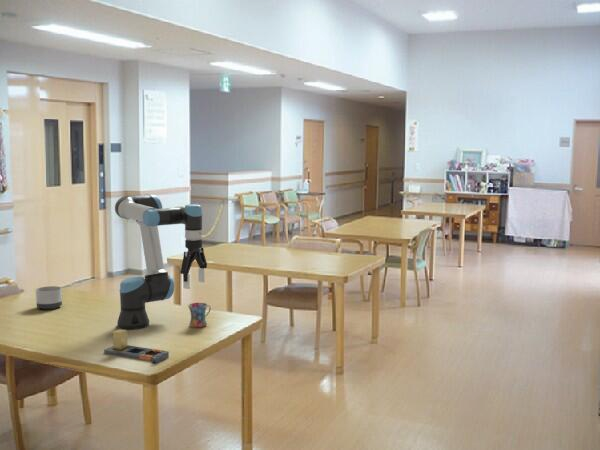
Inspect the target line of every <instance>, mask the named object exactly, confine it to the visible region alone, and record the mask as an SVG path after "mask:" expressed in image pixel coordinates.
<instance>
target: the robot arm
mask: <svg viewBox="0 0 600 450" xmlns="http://www.w3.org/2000/svg"><path fill="white" fill-rule="evenodd" d="M202 208H203V207H202V205H200V204H196V203H195V204H193V203H191V204H186V205H185V206H175V207H169V208H168V207H167V208H163V204H162V201H161V199H160V197H158V195H156V194H150V193H149V194H148V193H147V194H133V195H130V194H129V195H125V196H122V197H120V198H118V199H117V200H116V202H115V205H114V211H115V214H116V216H118V217H119V218H121V219H124V220H129V219H132V220H135V222H136V224H138V225H139V228H140V229H139V230H140V235H141V242H142V248H143V255H144V262H145V267H146V273H145V274H144V277H143V276H140V275H139V276H132V277H128V278H125V279H123V280H122V281H121V282H120V283H119V296H120V297H119V299H120V300H119V301H120V302H119V303H120V312H119V316H118V318H117V321H116V322H117V325H116V326H117V328H118V329H121V330H127V331H129V330H139V329H144V328H147V327H149V326H150V319H149V316H148V314H147V310H146V303H152V302H158V301H164V300H168V299H171V298H172V297H173V295H174V291H175V281H174V280H175V279H173V278H174V277H173V276H171V275H169V271H167V270H166V269H165V266H164V260H163V259H164V258H163V254H162V247H161V240H160V232H159V227H160V226H168V225H169V226H170V225H184V239H185V241H184V242H185V245H184V246H185V248H186V249H187V251H183V259H182V262H181V267H180V271H179V272H180V273H179V274H181V275H182V278H183V281H182V282H183V283H182V285H183V289H185V290H186V289H187V290H189V289H190V287H191V286H190V285H191V284H190V283H191V281H190V280H191V279H190V274H189V273H190V270H191V268H192V264H193V262H194V261H196V263H197V264H198V269H197V271H198V283H205V269H207V267H208V263H207V259H206V255H205V253H204V247H203V240H202V238H203V210H202ZM158 226H159V227H158Z"/></svg>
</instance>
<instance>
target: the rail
mask: <svg viewBox="0 0 600 450" xmlns="http://www.w3.org/2000/svg"><path fill="white" fill-rule="evenodd" d="M127 347H128V348H127V349H125V350H123V351H119V350H114V345H112V346H110V347H107V348H105V349H103V354H105V355H112V356H116V357H117V356H119V357H124V358H129V359H130V358H131V359H136V360H139V361H140V360H141V361H147V362H151V364H153V365H157V364H159V363H160V362H163V361H165V360H166V359H168V358H169V357H170V356H169V354H170V353H169V350H168V351H167V350H164V349H163V350H162V349H157V348H147V347H141V346H135V345H128V344H127Z"/></svg>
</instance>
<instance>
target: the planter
mask: <svg viewBox="0 0 600 450" xmlns="http://www.w3.org/2000/svg"><path fill="white" fill-rule="evenodd" d="M62 295H63V294H62V287H61V286H56V285H55V286H54V285H53V286H51V285H50V286H41V287H38V288H36V289H35V300H36V301H35V302H36V307H37V308H38V309H40V308H41V310H44V309H49V310H55V309H57V307H58V308H59V307H61V306H62V305H63V297H62ZM54 308H55V309H54Z"/></svg>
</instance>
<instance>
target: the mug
mask: <svg viewBox="0 0 600 450" xmlns="http://www.w3.org/2000/svg"><path fill="white" fill-rule="evenodd" d="M187 307H188V309H189V311H190V322H189V324H188V325H189V326H190V327H192V328H202V327H206V326H207V324H208V323H207V321H206V317H207V316H208V315H209V313H210V312H211V310H212V307H211V306H210V305H208V303H206V302H192V303H189V304H187ZM207 307H208V308H209V309H208V312H207V313H206V310H207Z"/></svg>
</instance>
